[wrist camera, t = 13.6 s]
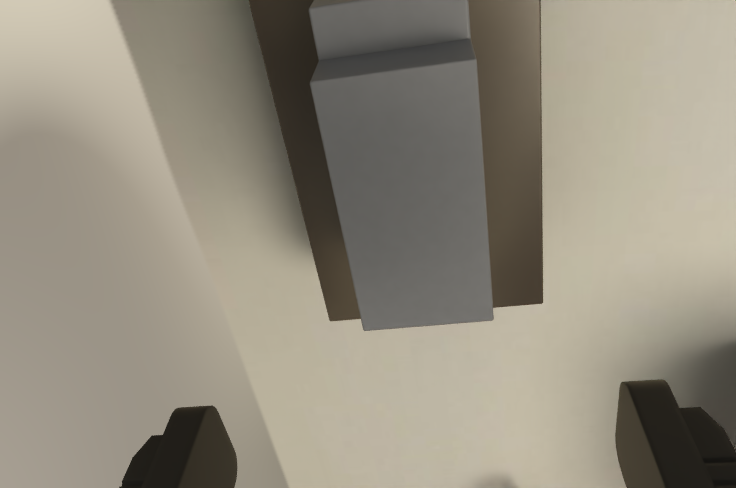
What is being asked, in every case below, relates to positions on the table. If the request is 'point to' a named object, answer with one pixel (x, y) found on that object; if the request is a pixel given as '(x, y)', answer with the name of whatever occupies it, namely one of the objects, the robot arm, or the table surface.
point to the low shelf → (498, 128)
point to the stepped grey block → (405, 157)
